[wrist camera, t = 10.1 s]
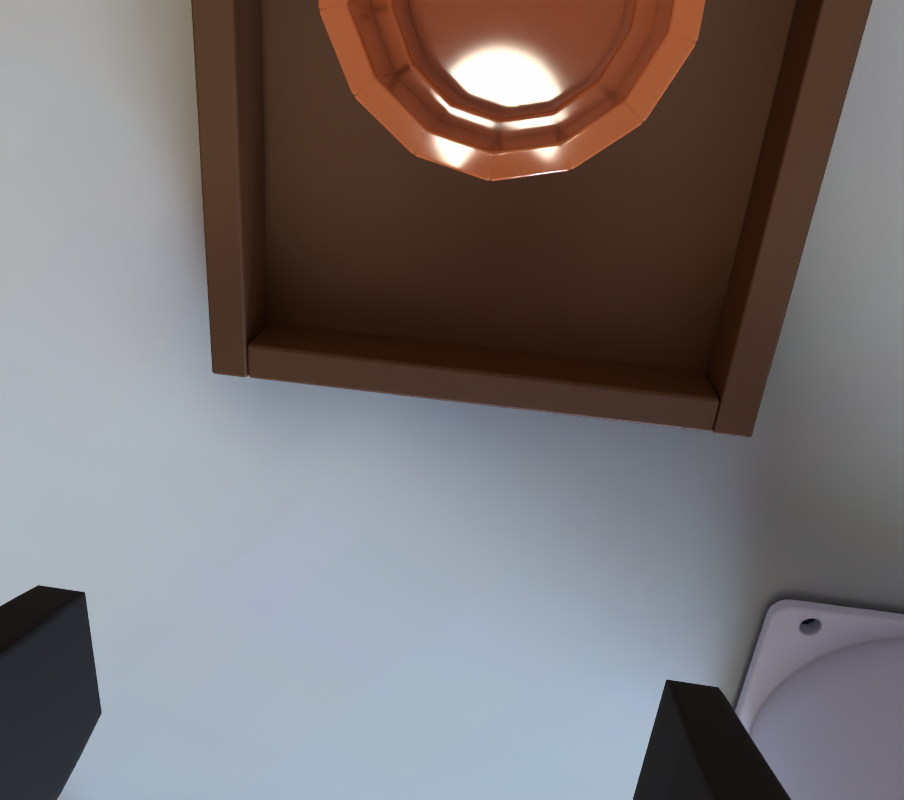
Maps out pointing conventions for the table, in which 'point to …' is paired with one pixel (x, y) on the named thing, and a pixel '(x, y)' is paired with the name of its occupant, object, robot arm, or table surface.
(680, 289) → the tray
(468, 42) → the flower pot
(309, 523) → the table surface
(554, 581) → the table surface
